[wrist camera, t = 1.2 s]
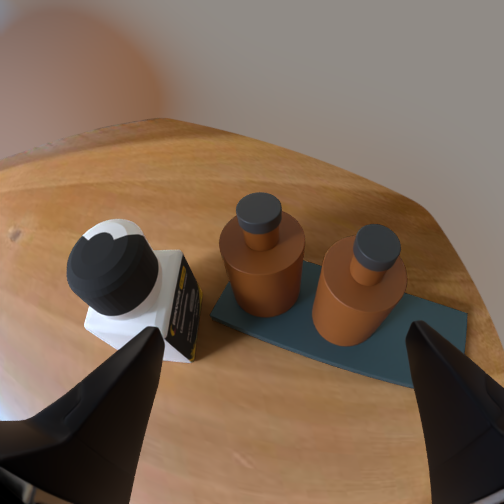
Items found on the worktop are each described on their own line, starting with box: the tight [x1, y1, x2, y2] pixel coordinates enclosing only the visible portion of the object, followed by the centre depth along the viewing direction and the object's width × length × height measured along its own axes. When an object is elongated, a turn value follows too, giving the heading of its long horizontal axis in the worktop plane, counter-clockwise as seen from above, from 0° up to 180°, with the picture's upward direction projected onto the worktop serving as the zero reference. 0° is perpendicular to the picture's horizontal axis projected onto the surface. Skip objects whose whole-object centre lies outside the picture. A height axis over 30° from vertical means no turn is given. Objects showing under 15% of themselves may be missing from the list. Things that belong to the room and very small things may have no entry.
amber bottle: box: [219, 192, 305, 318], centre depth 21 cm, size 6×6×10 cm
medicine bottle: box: [67, 219, 203, 363], centre depth 20 cm, size 7×7×12 cm
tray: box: [210, 260, 467, 389], centre depth 22 cm, size 8×24×1 cm, turn 65°
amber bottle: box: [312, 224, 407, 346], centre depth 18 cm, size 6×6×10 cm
